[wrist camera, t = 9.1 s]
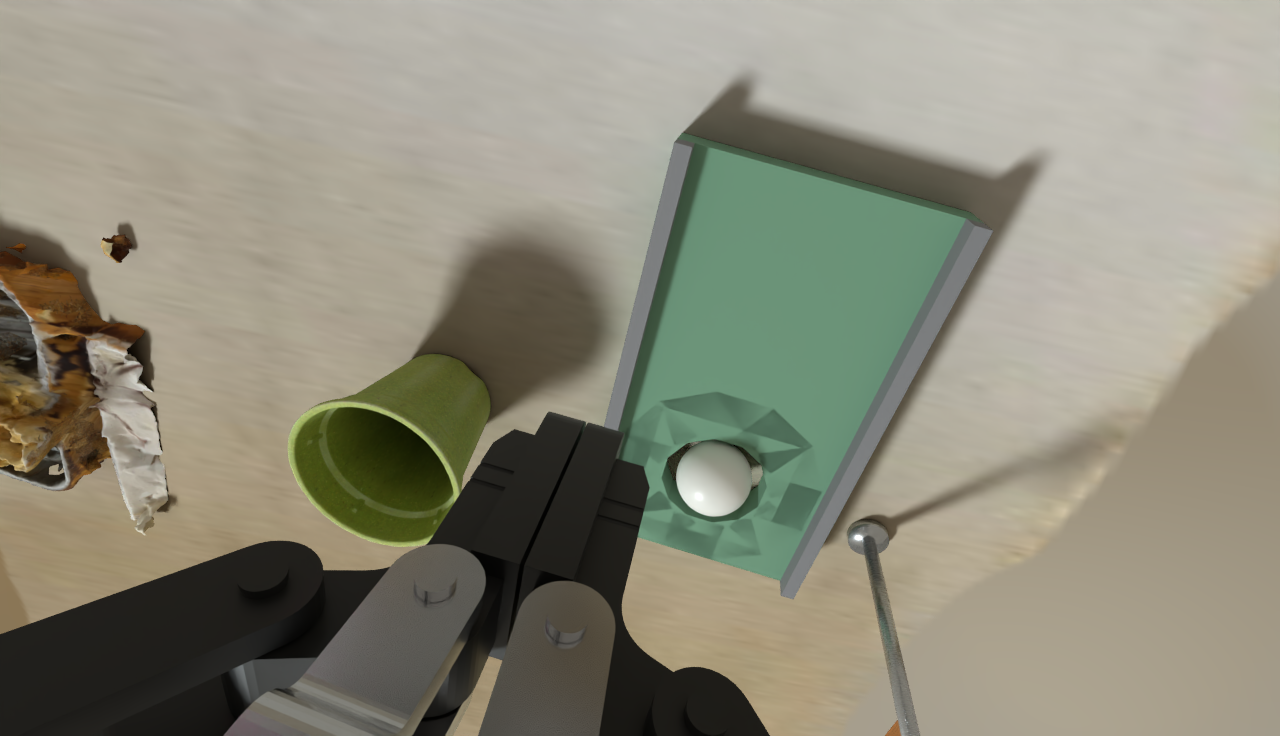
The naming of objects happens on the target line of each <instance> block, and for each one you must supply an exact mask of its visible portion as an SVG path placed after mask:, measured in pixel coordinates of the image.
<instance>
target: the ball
mask: <svg viewBox="0 0 1280 736" xmlns="http://www.w3.org/2000/svg"><path fill="white" fill-rule="evenodd" d="M676 482H677V487H678V490H679V493H680V495H681V497H682V499H683V500H684V501H685V503H686V504H687V505H688V506H689V507H690V508H692V509H693V510H695V511H696V512H698V513H700V514H703V515H706V516H715V517H716V516H724V515H727V514H729V513H732V512H734V511H735V510H737V509H738V508H739V507H740V506H741V505H742V504H743V503H744V502H745V500H746V499H747V497H748V495H749V493H750V490H751V485H752V473H751V468H750V465H749V463H748V461H747V459H746V457H745V456H744V455H743V454H742V452H741V451H740V450H739V449H737V448H736V447H735V446H733V445H731V444H729V443H727V442H723V441H720V440H707V441H703V442H700V443H698V444H696V445H694V446H692V447H691V448H690V449H689V450H688V451H687V452H686V453H685V454H684V455H683V457H682V458H681V460H680V462H679V464H678V468H677V473H676Z"/></svg>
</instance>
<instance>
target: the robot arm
mask: <svg viewBox="0 0 1280 736" xmlns="http://www.w3.org/2000/svg"><path fill="white" fill-rule="evenodd" d="M623 438H624V433H623V432H620V431H616V430H613V429H609V428H606V427H602V426H599V425H595V424H592V423H588V424H587V425H586V422H584V421H581V420H577V419H574V418H570V417H567V416H563V415H560V414H556V413H553V412H548V413H547V415H546V416H545V418H544V420H543V422H542V423H541V425H540V427H539V429H538V431H537V432H536V434H535V435H532V434H529V433H526V432H522V431H519V430H515V429H514V430H513V431H511V432H509V433H508V434H506V435H505V436H503V437H501V438H500V439H498V440H497V441H495V442H494V443H493V444H492V445H491V447H490V449H489V450H488V452H487V453H486V455H485V456H484V458H483V459H482V461H481V464H480V466H479V465H478V467H477V469H476V470H475V472H474V473H473V475H472V476H471V479H470V481H468V482H467V484H466V486H465V487H464V489H463V490H462V492H461V493H460V495H459V496H458V498H457V499H456V501H455V502H454V504H453V506H452V507H451V509H450V510H449V512H448V513H447V515H446V516H445V518H444V519H443V521H442V523H441V524H440V526H439V527H438V529H437V530H436V532H435V533H434V535H433V536H432V538H431V539H430V541H429V542H428V543H427V545H426V546H422V547H419V548H416V549H414V550H411V551H409V552H408V553H406V554H404V555H403V556H401V557H400V558H399V559H397V560H396V561H395V562H394V564H393V565H392V566H391V567H388V568H384V569H378V570H366V571H353V570H323V565H322V563H321V560H320V558H319V557H318V555H317V554H316V553H315V552H314V551H313V550H312V549H310V548H308V547H307V546H305V545H302V544H299V543H296V542H290V541H269V542H263V543H259V544H255V545H252V546H249V547H246V548H243V549H240V550H237V551H234V552H232V553H229V554H226V555H223V556H220V557H217V558H215V559H212V560H209V561H206V562H203V563H201V564H198V565H195V566H192V567H189V568H186V569H184V570H181V571H178V572H175V573H172V574H169V575H167V576H164V577H161V578H158V579H155V580H153V581H150V582H147V583H144V584H141V585H138V586H136V587H133V588H130V589H127V590H124V591H121V592H119V593H116V594H113V595H110V596H107V597H105V598H102V599H99V600H96V601H93V602H90V603H88V604H85V605H82V606H79V607H76V608H73V609H71V610H68V611H65V612H62V613H59V614H57V615H54V616H51V617H48V618H45V619H42V620H40V621H37V622H34V623H31V624H28V625H25V626H23V627H20V628H17V629H14V630H11V631H9V632H6V633H3V634H0V736H453V735H454V733H455V731H456V729H457V727H458V725H459V723H460V721H461V719H462V717H463V715H464V714H465V712H466V710H467V708H468V706H469V703H470V701H471V697H472V693H473V690H474V688H475V686H476V684H477V682H478V679H479V677H480V675H481V672H482V670H483V668H484V666H485V663H486V661H487V659H488V656H490V657H494V658H497V659H500V660H503V661H502V664H501V667H500V670H499V673H498V676H497V679H496V682H495V685H494V688H493V691H492V695H491V698H490V701H489V704H488V707H487V710H486V713H485V716H484V719H483V722H482V725H481V728H480V732H479V735H478V736H770V735H769V734H768V732H767V730H766V729H765V727H764V725H763V724H762V722H761V721H760V719H759V717H758V716H757V714H756V713H755V711H754V709H753V708H752V706H751V704H750V703H749V701H748V700H747V698H746V697H745V695H744V694H743V693H742V691H741V690H740V689H739V688H738V687H737V686H736V685H735V684H734V683H733V682H732V681H730V680H729V679H728V678H726V677H725V676H723V675H721V674H720V673H718V672H715V671H713V670H710V669H706V668H701V667H688V668H683V669H680V670H677V671H675V672H672V671H671V670H669V669H668V668H666V667H665V666H663V665H662V664H661V663H659V662H658V661H656V660H655V659H653V658H652V657H650V656H649V655H648V654H646V653H645V652H644V651H643V650H642V649H641V648H640V647H639V646H638V645H637V644H636V643H635V642H634V640H633V639H632V638H631V636H630V634H629V633H628V631H627V629H626V627H625V624H624V621H623V616H622V605H621V604H622V598H623V594H624V590H625V586H626V581H627V577H628V573H629V569H630V565H631V561H632V557H633V553H634V549H635V545H636V541H637V537H638V533H639V529H640V525H641V521H642V517H643V512H644V509H645V505H646V501H647V497H648V493H649V489H650V487H649V484H648V480H647V477H646V473H645V470H644V466H641V465H637V464H634V463H630V462H627V461H623V460H620V459H618V458H619V454H620V450H621V446H622V442H623Z"/></svg>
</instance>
